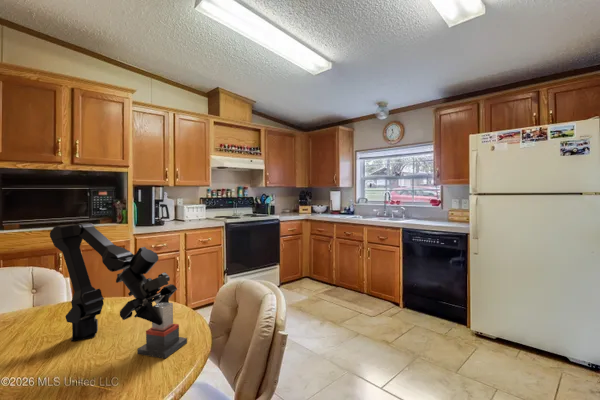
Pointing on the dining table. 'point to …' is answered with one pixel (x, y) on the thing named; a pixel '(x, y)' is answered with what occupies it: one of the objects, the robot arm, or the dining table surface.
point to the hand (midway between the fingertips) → (166, 321)
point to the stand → (162, 342)
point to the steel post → (163, 316)
